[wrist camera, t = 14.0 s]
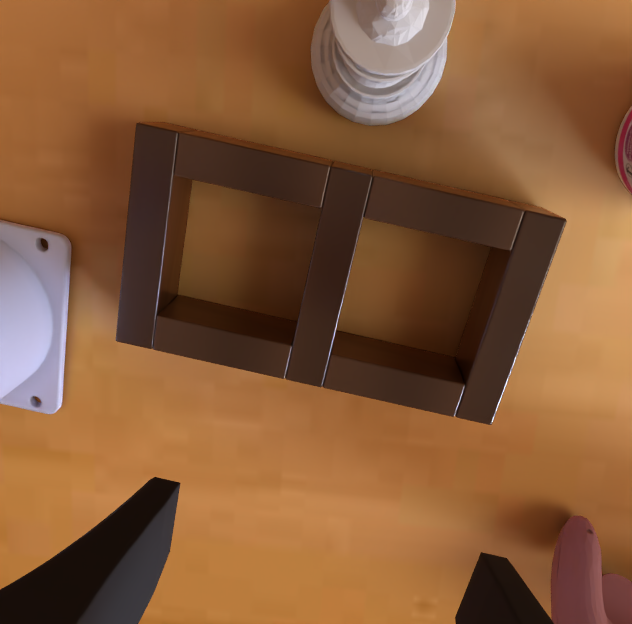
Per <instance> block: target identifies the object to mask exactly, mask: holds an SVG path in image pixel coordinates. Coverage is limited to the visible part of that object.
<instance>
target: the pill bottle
mask: <svg viewBox="0 0 632 624" xmlns="http://www.w3.org/2000/svg"><path fill="white" fill-rule="evenodd" d="M615 163H616V168H617V172H618V175H619V177H620V179H621V181H622V183H623V185H624V186H625V188H626V189H627V190H628V191H629V193H630V194H631V195H632V106H631V107H630V109H629V110H628V112H627V113H626V115H625V117H624V119H623V121H622V123H621V125H620V128H619V131H618V134H617V138H616V145H615Z"/></svg>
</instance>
